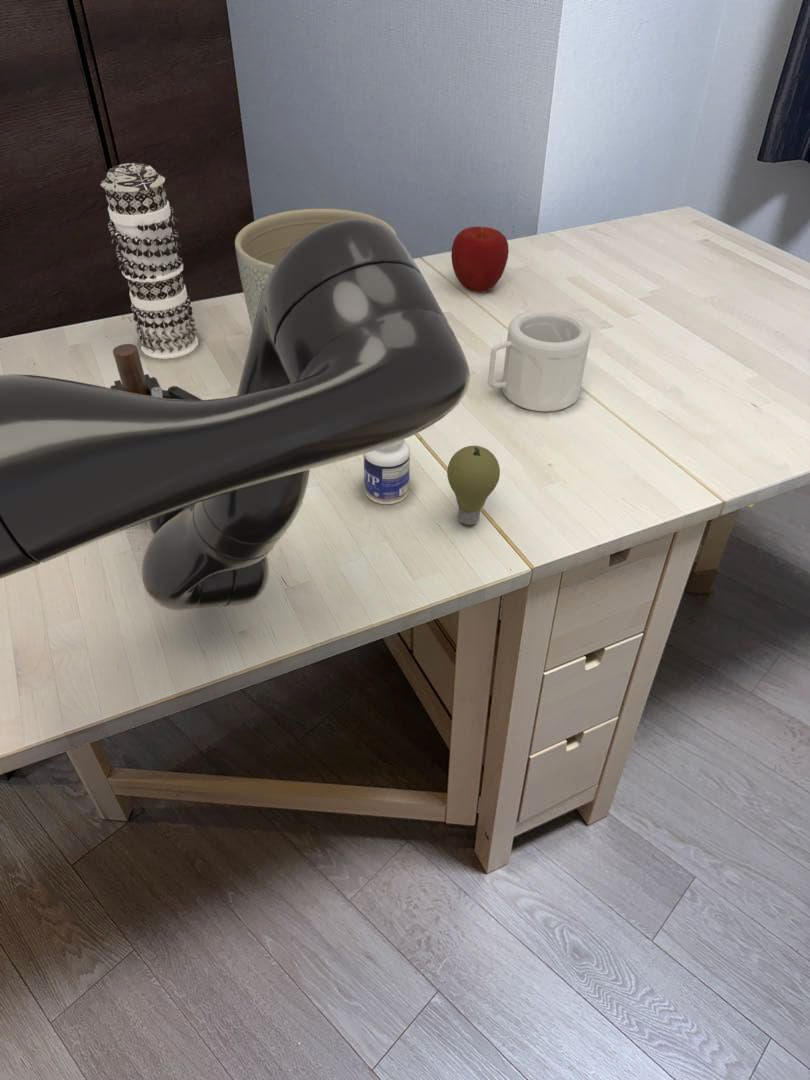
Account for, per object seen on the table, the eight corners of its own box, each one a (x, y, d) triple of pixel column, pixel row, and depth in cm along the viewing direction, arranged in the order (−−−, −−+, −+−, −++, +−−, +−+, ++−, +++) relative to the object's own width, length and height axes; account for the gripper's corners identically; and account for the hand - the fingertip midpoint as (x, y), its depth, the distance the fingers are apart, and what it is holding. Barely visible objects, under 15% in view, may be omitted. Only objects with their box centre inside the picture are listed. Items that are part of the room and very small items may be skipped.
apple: (512, 297, 126) (519, 237, 119) (458, 302, 125) (462, 242, 118) (494, 274, 133) (500, 216, 126) (443, 278, 131) (446, 221, 124)
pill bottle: (357, 484, 89) (355, 421, 83) (397, 473, 90) (398, 411, 84) (375, 510, 85) (374, 447, 79) (416, 498, 87) (418, 435, 81)
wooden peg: (186, 455, 91) (162, 351, 81) (126, 470, 88) (93, 365, 79) (178, 437, 93) (154, 334, 84) (119, 451, 91) (87, 347, 81)
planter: (424, 359, 110) (428, 229, 97) (338, 424, 98) (329, 285, 85) (315, 321, 119) (306, 197, 106) (223, 377, 106) (199, 243, 93)
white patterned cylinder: (206, 330, 116) (174, 157, 99) (194, 360, 109) (157, 180, 92) (147, 330, 116) (105, 157, 99) (132, 359, 109) (83, 179, 92)
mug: (557, 367, 109) (568, 303, 102) (592, 406, 102) (607, 339, 95) (471, 381, 106) (477, 316, 99) (501, 422, 99) (509, 354, 92)
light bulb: (502, 532, 83) (512, 459, 76) (456, 544, 81) (462, 471, 74) (480, 501, 86) (487, 430, 80) (436, 513, 85) (440, 441, 78)
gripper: (226, 418, 76) (185, 343, 87) (83, 452, 71) (60, 368, 82) (237, 476, 81) (197, 398, 92) (104, 511, 76) (79, 425, 88)
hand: (132, 384), depth 87 cm, fingers closed on wooden peg, 2 cm apart
